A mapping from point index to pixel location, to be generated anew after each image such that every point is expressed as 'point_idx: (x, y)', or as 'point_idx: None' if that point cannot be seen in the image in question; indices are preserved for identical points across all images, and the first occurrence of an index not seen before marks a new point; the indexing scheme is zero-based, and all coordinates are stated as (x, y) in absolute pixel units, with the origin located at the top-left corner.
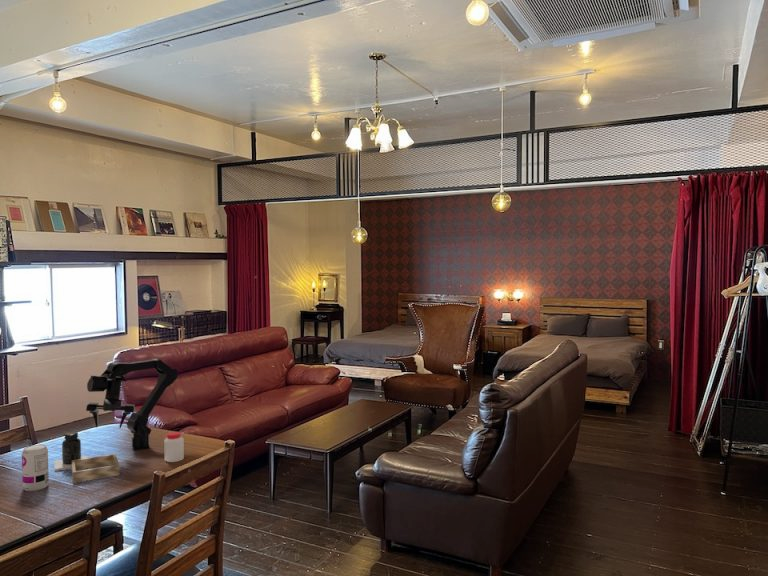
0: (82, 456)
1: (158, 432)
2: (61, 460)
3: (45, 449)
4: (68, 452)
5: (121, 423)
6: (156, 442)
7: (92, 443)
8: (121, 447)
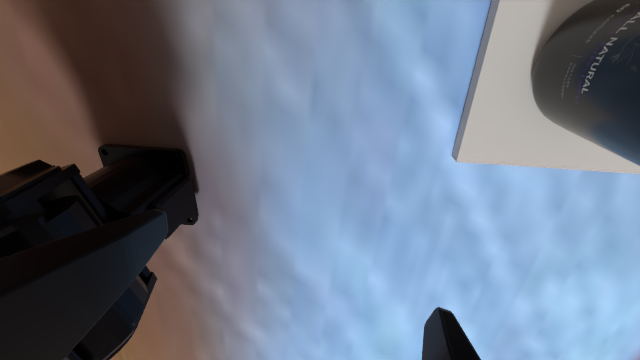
0: (484, 161)
1: None
2: None
3: None
4: None
5: (87, 237)
6: None
7: (367, 352)
8: (253, 237)
